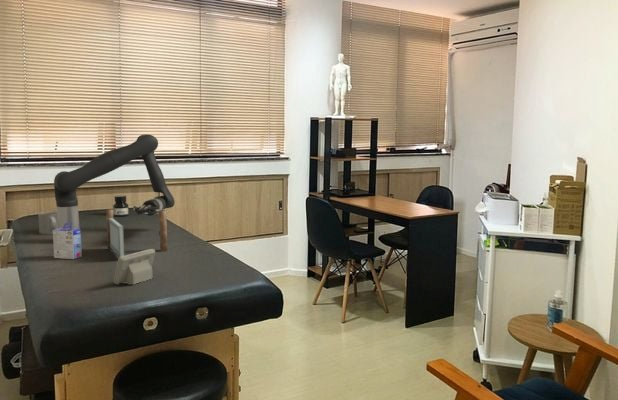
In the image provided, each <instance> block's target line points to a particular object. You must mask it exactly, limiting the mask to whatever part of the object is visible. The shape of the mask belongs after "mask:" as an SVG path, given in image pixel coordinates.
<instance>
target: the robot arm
mask: <svg viewBox="0 0 618 400" xmlns="http://www.w3.org/2000/svg"><path fill="white" fill-rule="evenodd" d="M158 147H159V141H158V138H157V137H155V136H154V135H152V134H148V133H147V134H145V133H144V134H141V135H138V137H137V138H136V140H135V141H133V142H132V143H130V144H127V145H125V146H120V147H117V148H114V149H111V150H109V151H106V152H104V153H102V154H99V155H98V156H96V157H94V158H93V159H91V160H90V161H89V162H87V163H86V164H85V165H82V166H81V167H78V168H75V169H73V170H70V171H65V170H64V171H59V172H58V173H56V175H55V176H54V179H53V188H54V189H53V190H54V198H55V203H56V206H55V207H56V211H57V221H58V222H56V229H58V228H63V227H64V224H65V223H72V227H71V228H74V229H80V215H79V200H78V197H77V189H78V188H80V187H81V186H82V185H85V184H86V183H88V182H90V181H91V180H94V179H97V178H99V177H102V176H103V175H104V176H105V175H107V174H108V173H111V172H113V171H115V170H117V169H119V168H121V167H122V166H124V165H126V164H128V163H130V162H131V161H133V160H135V159H137V158H140V157H141V158H142V161H143V163H144V165H145V169H146V171H147V174H148V177H149V180H150V181H149V182H150V184H151V188H152V190H153V193H160V194H162V195H160V196H156V197H154V198H151V199H148V200H146V201H144V202H143V203H142V205H139V207H138V206H135V205H133V212H134V213H136V214H137V215H138V216H139V215H143V214H144V215H145V216H149V217H151V216H154V215H157V214H159V211H161V210H166V209H171V208H173V207H174V206H175V201H176V200H175V198H174V195H172V193H171V192H170V190H169V188H168V186H167V183H166V181H165V180H166V179H165V177H164V173H163V171H162V169H161V166H159V163H158V161H157V159H156V155H155V151H156V150H157V149H158ZM66 226H68V227H70V225H66Z"/></svg>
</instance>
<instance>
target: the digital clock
mask: <svg viewBox="0 0 618 400" xmlns="http://www.w3.org/2000/svg"><path fill="white" fill-rule="evenodd" d="M155 255H156V250H155V249H154V248H149V249H146V250H141V251H137V252H134V253H130V254H124V256H122V257H119V258H118V260H117V263H116V267H115V273H114V278H113V284H114V283H115V285H120V284H119V283H122V284H124V283H123V282H128V283H131V284H136V283H139V282H142V281H145V282H147V281H146V280H148V281H150V280H149V279H151V280H153V279H152V278H154V277H153V263H154V259H155ZM142 283H143V282H142ZM139 284H140V283H139ZM136 285H137V284H136Z"/></svg>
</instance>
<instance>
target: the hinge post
mask: <svg viewBox="0 0 618 400" xmlns="http://www.w3.org/2000/svg"><path fill="white" fill-rule="evenodd" d="M105 217H106V218H105V220H106V238H107V241H106V242H107V250H108V251H113V250H112V248H111V247H110V243H111V242H110V223H109V218H113V219H114V215H113V209H112V208H109V209H105ZM114 220H115V219H114Z"/></svg>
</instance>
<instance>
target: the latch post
mask: <svg viewBox="0 0 618 400" xmlns="http://www.w3.org/2000/svg"><path fill="white" fill-rule="evenodd" d="M158 216H159V231H158V236H159V243H160V252H167V251H168V233H167V232H168V230H167V227H168V225H167V210H166V209H163V210H161V211H159V213H158Z"/></svg>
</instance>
